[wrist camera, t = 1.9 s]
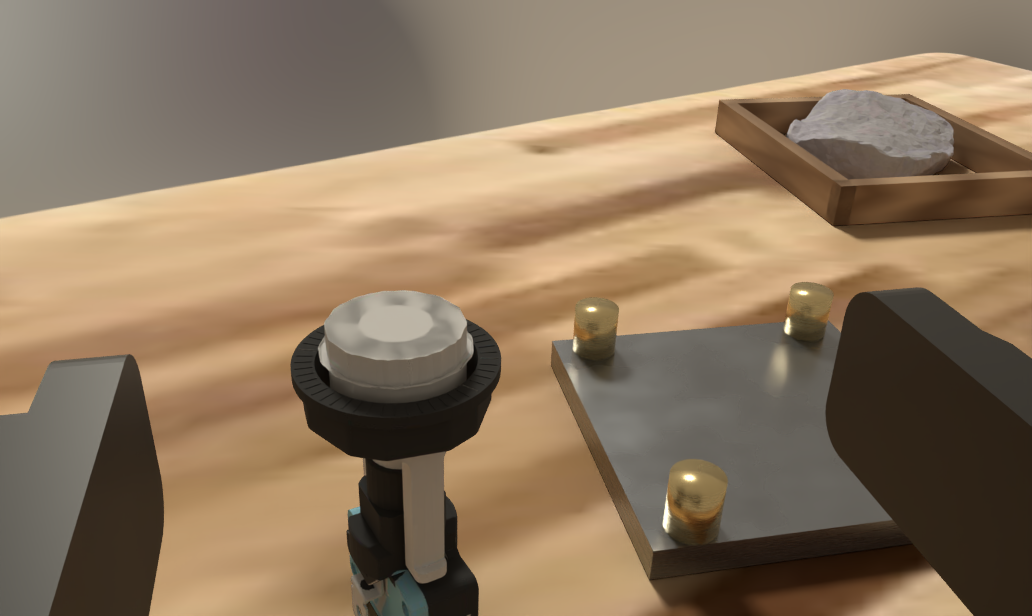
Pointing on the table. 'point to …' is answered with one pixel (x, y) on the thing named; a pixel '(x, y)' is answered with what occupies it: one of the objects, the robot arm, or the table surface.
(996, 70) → the table surface
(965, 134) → the block coaster frame
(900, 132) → the stone block
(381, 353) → the push button
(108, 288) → the table surface
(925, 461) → the robot arm
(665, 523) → the plate
